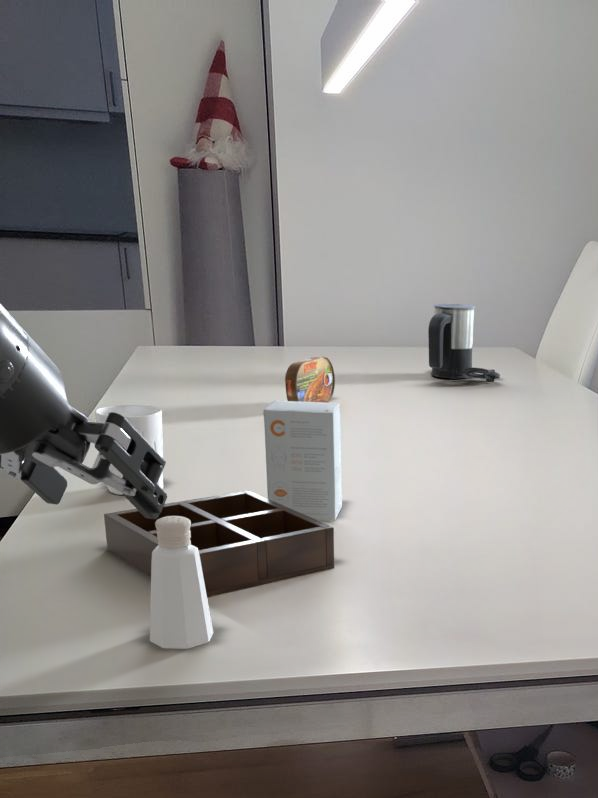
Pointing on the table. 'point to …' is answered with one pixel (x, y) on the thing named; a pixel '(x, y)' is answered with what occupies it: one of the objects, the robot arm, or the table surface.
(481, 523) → the table surface
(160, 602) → the salt shaker
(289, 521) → the divided wooden tray
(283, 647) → the table surface
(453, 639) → the table surface
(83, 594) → the table surface
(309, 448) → the small box
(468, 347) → the milk frother
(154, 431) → the white cup
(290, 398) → the tin
